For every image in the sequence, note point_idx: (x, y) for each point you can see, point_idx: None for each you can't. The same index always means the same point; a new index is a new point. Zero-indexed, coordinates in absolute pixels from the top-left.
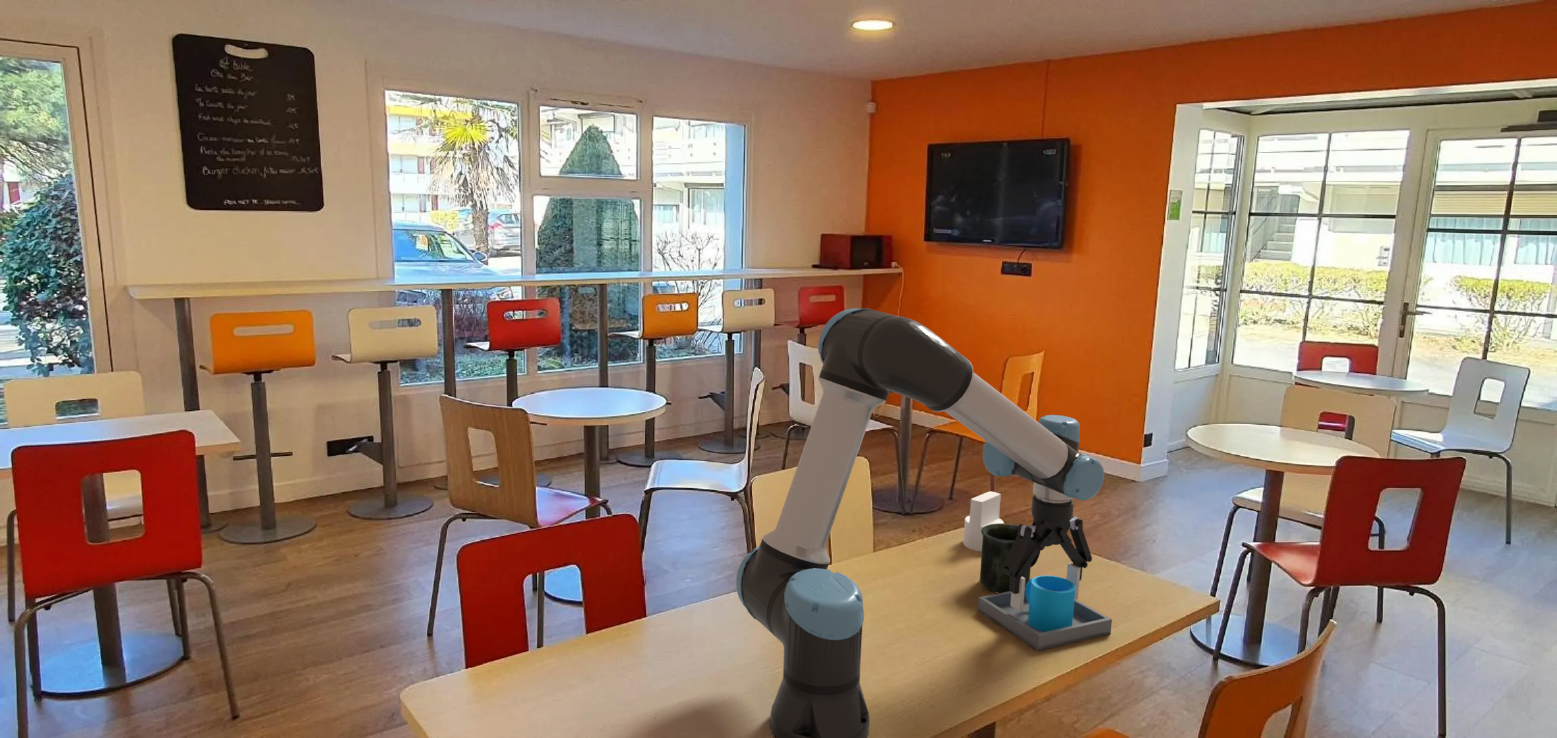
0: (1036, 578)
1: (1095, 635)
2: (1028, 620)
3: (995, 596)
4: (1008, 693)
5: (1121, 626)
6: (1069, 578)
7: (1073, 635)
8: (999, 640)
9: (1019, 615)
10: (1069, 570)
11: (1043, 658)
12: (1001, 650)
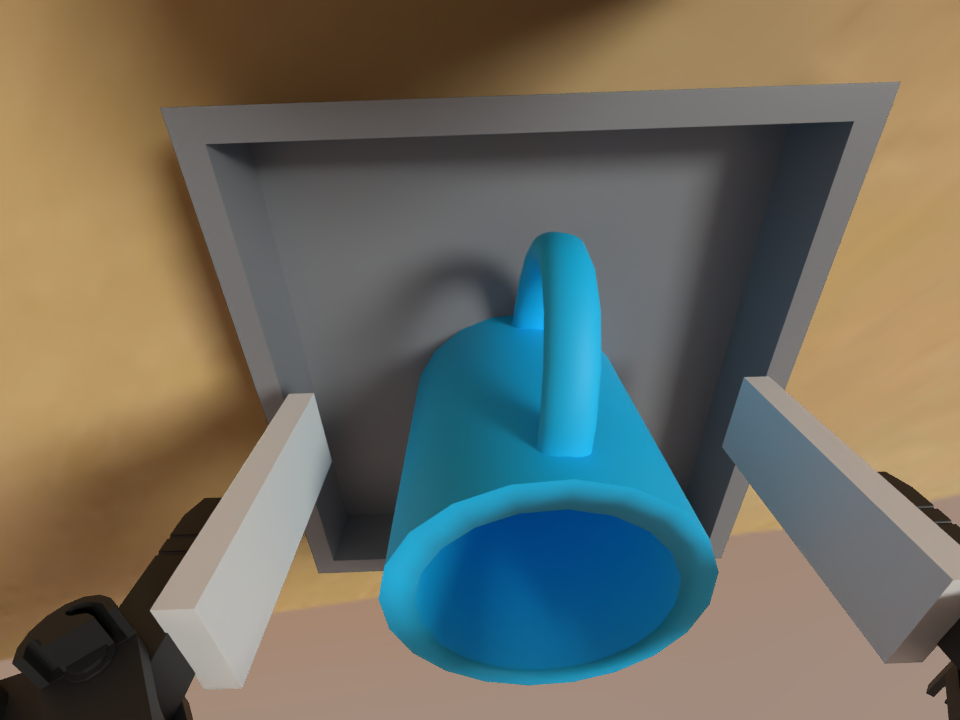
0: (493, 509)
1: None
2: (426, 367)
3: (316, 138)
4: None
5: None
6: (820, 487)
7: None
8: (219, 421)
9: (430, 287)
10: (879, 538)
11: None
12: (196, 479)
